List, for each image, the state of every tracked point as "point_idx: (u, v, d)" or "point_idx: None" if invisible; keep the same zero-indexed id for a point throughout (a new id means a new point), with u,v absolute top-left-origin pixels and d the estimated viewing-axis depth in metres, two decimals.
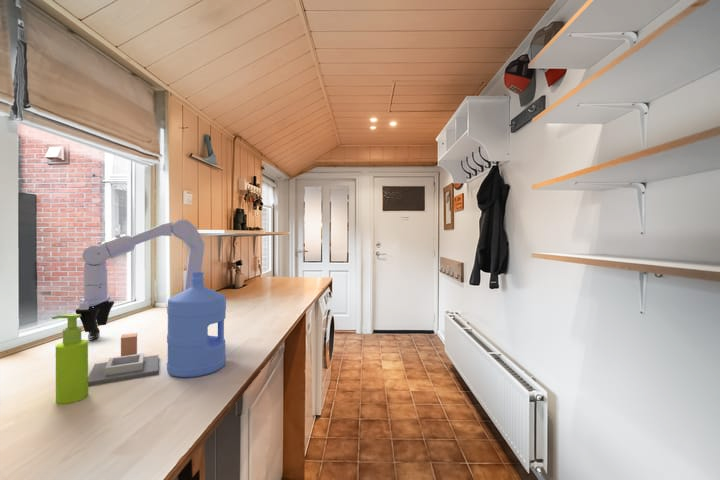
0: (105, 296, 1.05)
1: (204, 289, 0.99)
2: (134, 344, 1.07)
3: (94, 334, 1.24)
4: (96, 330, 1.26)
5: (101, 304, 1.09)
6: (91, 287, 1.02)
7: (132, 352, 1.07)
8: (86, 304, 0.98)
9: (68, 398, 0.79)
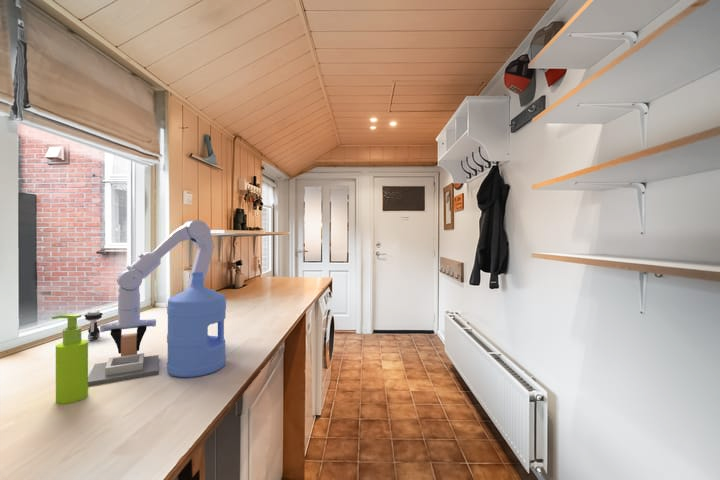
0: (126, 322, 1.05)
1: (204, 289, 0.99)
2: (134, 344, 1.07)
3: (94, 334, 1.24)
4: (96, 330, 1.26)
5: (137, 329, 1.09)
6: (118, 311, 1.06)
7: (132, 351, 1.07)
8: (100, 327, 1.03)
9: (68, 398, 0.79)
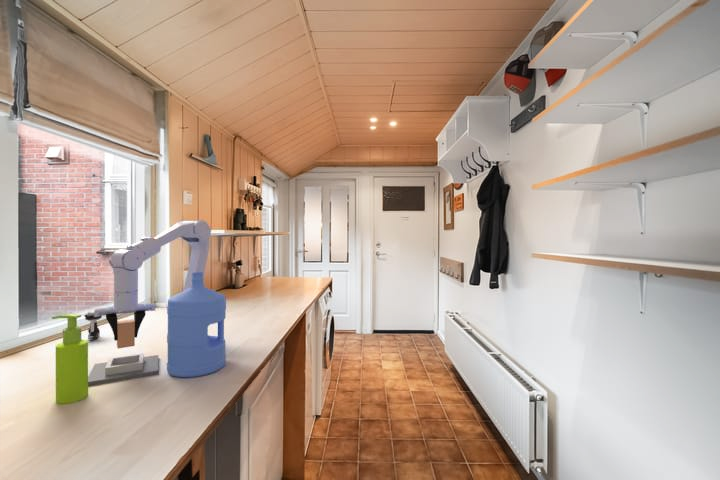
0: (124, 306, 0.96)
1: (204, 289, 0.99)
2: (132, 330, 0.98)
3: (94, 334, 1.24)
4: (96, 330, 1.26)
5: (134, 314, 1.00)
6: (114, 294, 0.97)
7: (130, 339, 0.98)
8: (94, 311, 0.93)
9: (68, 398, 0.79)
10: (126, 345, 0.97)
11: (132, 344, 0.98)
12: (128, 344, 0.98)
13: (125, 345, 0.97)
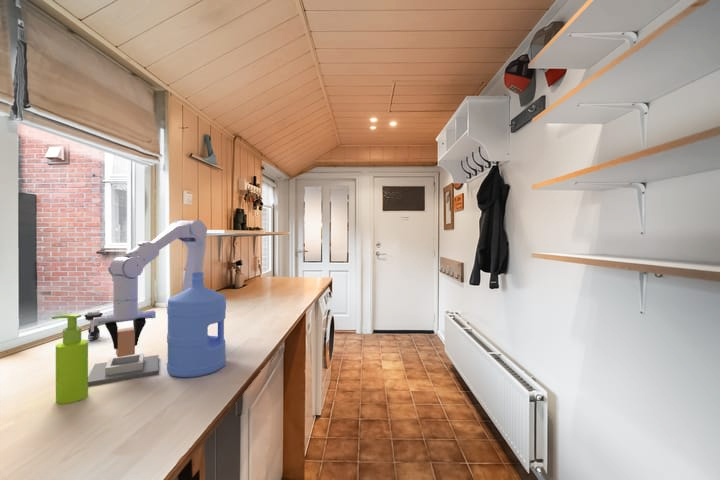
0: (125, 314, 0.95)
1: (204, 289, 0.99)
2: (132, 338, 0.97)
3: (94, 334, 1.24)
4: (96, 330, 1.26)
5: (134, 322, 0.99)
6: (113, 302, 0.95)
7: (130, 347, 0.97)
8: (93, 320, 0.92)
9: (68, 398, 0.79)
10: (126, 354, 0.96)
11: (132, 352, 0.97)
12: (128, 353, 0.96)
13: (125, 354, 0.96)
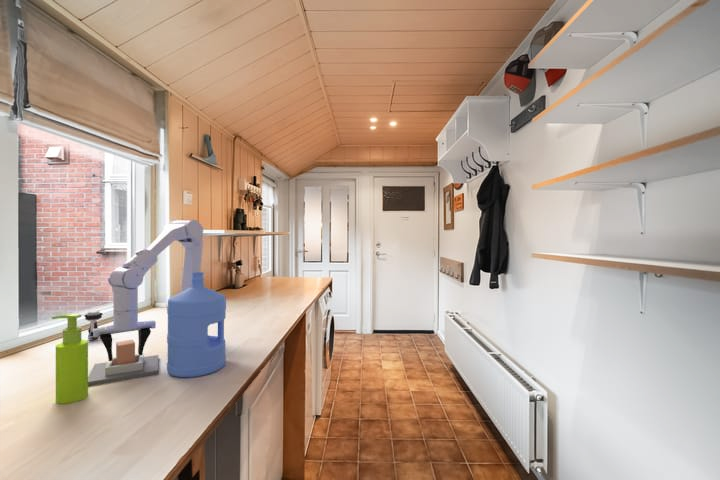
0: (125, 325, 0.95)
1: (204, 289, 0.99)
2: (132, 352, 0.97)
3: None
4: None
5: (139, 331, 1.00)
6: (113, 313, 0.95)
7: (130, 360, 0.97)
8: (93, 331, 0.92)
9: (68, 398, 0.79)
10: None
11: None
12: None
13: None
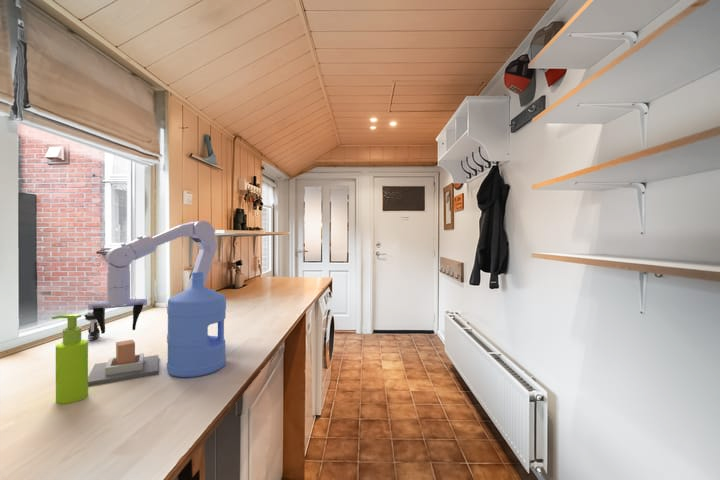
0: (116, 300, 1.01)
1: (204, 289, 0.99)
2: (132, 352, 0.97)
3: (94, 334, 1.24)
4: (96, 330, 1.26)
5: None
6: (107, 289, 1.02)
7: (130, 360, 0.97)
8: (88, 305, 0.99)
9: (68, 398, 0.79)
10: None
11: None
12: None
13: None
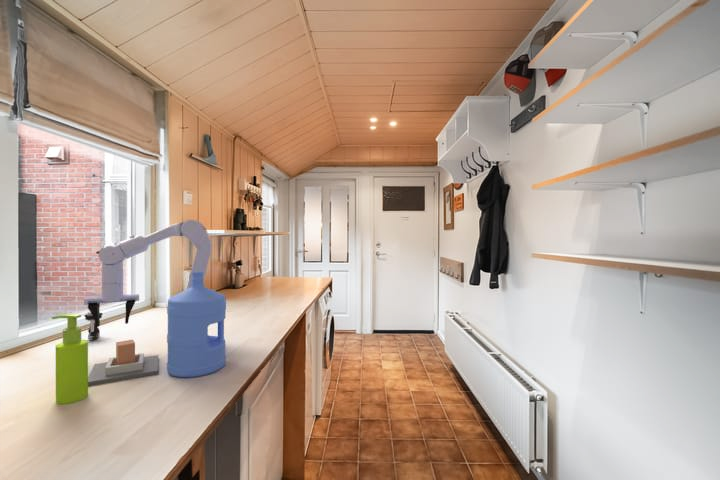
0: (109, 296, 1.08)
1: (204, 289, 0.99)
2: (132, 352, 0.97)
3: (94, 334, 1.24)
4: (96, 330, 1.26)
5: None
6: None
7: (130, 360, 0.97)
8: None
9: (68, 398, 0.79)
10: None
11: None
12: None
13: None
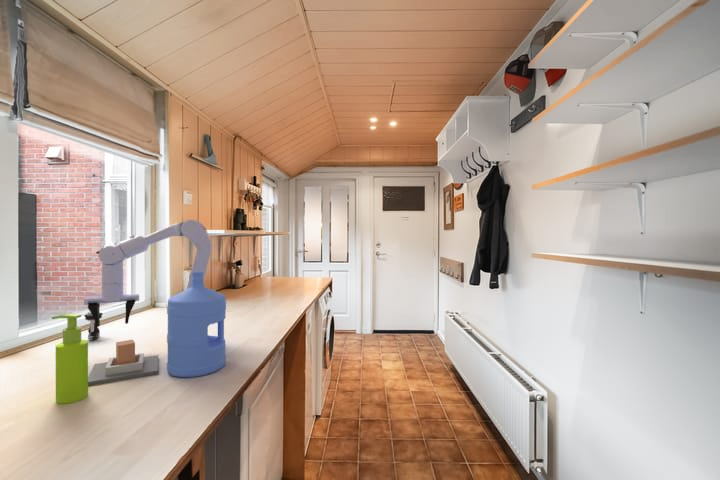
0: (109, 296, 1.08)
1: (204, 289, 0.99)
2: (132, 352, 0.97)
3: (94, 334, 1.24)
4: (96, 330, 1.26)
5: None
6: None
7: (130, 360, 0.97)
8: None
9: (68, 398, 0.79)
10: None
11: None
12: None
13: None
